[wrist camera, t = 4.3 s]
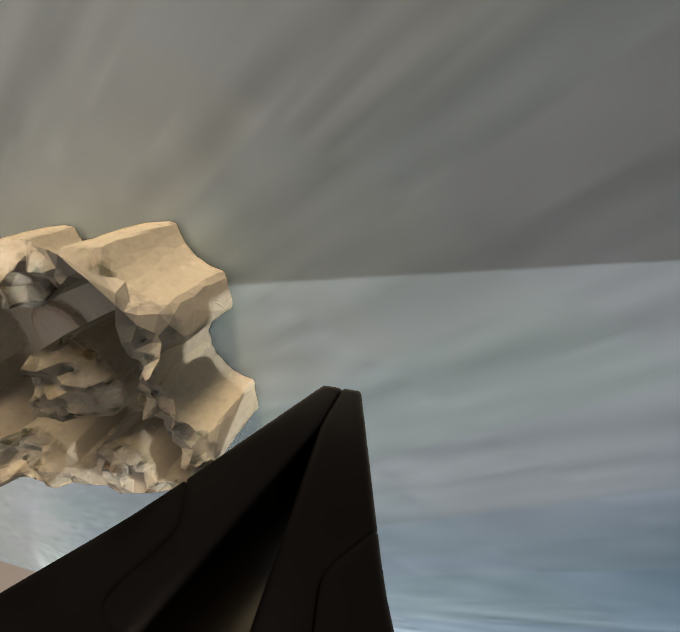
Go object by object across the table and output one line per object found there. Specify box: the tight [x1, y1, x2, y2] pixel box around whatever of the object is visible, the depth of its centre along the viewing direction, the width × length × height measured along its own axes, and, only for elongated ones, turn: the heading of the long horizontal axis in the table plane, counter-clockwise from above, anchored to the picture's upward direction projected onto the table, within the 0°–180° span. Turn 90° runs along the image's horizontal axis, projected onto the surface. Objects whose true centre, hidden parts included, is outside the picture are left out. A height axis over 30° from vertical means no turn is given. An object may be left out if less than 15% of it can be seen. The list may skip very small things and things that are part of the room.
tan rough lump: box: [0, 221, 259, 493], centre depth 10 cm, size 11×8×4 cm
